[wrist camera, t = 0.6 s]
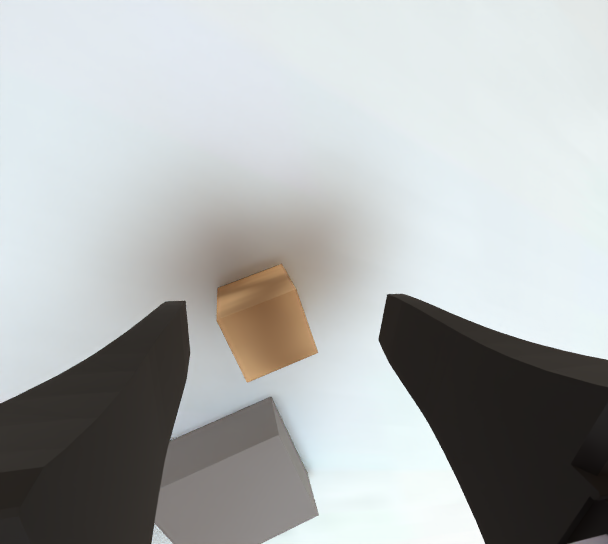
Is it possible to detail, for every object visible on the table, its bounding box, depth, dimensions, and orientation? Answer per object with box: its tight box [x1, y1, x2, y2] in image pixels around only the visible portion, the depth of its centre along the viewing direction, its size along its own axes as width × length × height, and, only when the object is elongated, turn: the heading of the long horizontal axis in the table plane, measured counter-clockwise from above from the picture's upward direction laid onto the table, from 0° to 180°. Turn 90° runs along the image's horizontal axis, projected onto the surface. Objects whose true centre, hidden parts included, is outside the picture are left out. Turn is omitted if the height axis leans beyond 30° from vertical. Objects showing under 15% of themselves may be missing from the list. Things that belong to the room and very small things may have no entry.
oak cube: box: [217, 264, 318, 382], centre depth 19 cm, size 4×4×4 cm
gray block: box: [154, 397, 319, 544], centre depth 24 cm, size 10×10×4 cm
